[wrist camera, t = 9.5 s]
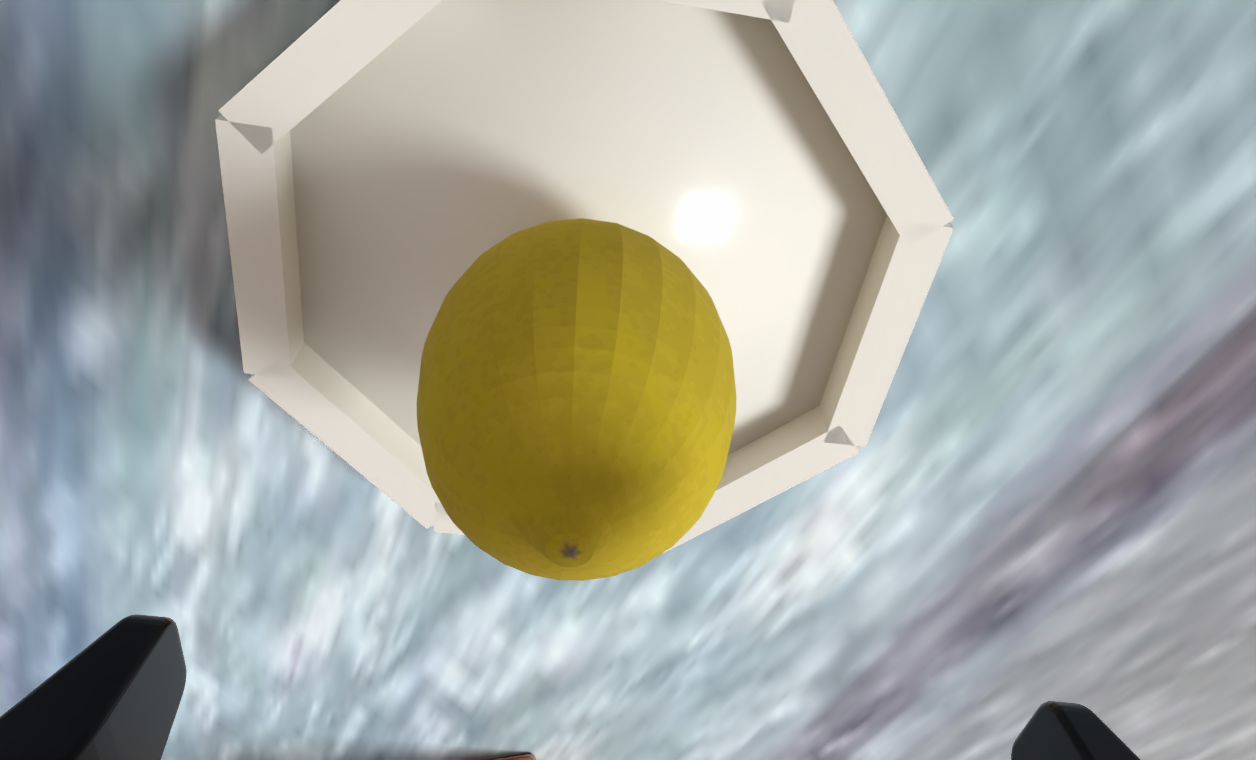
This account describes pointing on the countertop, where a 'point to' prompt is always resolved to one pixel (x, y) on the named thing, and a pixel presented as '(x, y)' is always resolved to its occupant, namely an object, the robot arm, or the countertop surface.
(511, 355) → the lemon
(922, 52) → the countertop surface
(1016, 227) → the countertop surface
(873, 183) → the dish
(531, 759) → the supplement box
